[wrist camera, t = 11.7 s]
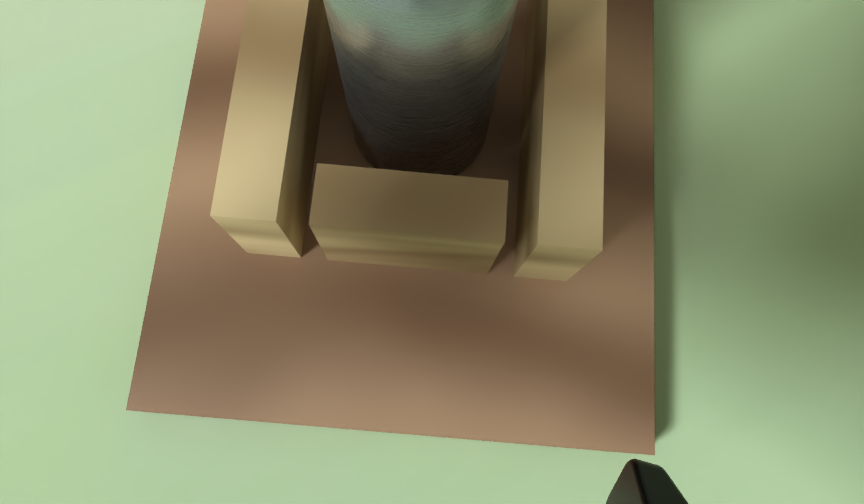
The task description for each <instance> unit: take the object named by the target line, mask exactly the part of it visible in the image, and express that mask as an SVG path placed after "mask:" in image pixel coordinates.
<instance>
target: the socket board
mask: <svg viewBox="0 0 864 504" xmlns="http://www.w3.org/2000/svg"><path fill="white" fill-rule="evenodd" d="M126 410H131V411H143V412H154V413H166V414H178V415H190V416H201V417H213V418H225V419H236V420H248V421H260V422H272V423H283V424H295V425H307V426H319V427H330V428H342V429H354V430H366V431H377V432H389V433H401V434H413V435H424V436H436V437H448V438H459V439H471V440H483V441H495V442H506V443H518V444H530V445H542V446H553V447H565V448H577V449H589V450H600V451H612V452H624V453H636V454H647V455H655V364H654V17H653V0H518V3H517V7H516V12H515V16H514V20H513V24H512V28H511V33H510V37H509V41H508V45H507V50H506V54H505V58H504V62H503V66H502V71H501V75H500V79H499V83H498V88H497V92H496V96H495V100H494V105H493V109H492V113H491V117H490V121H489V126H488V130H487V134H486V138H485V141H484V144H483V147H482V149H481V151H480V153H479V154H478V156H477V157H476V159H475V160H474V161H473V162H472V164H471V165H469V166H468V167H467V168H466V169H465V170H464V171H462V172H461V173H460V174H458V175H456V176H454V175H443V174H432V173H421V172H410V171H399V170H388V169H376V168H373V167H372V166H371V165H370V164H369V163H368V161H367V160H366V159H365V157H364V156H363V155H362V153H361V151H360V149H359V147H358V145H357V142H356V139H355V135H354V131H353V127H352V123H351V118H350V114H349V110H348V105H347V101H346V97H345V92H344V88H343V84H342V79H341V75H340V71H339V66H338V62H337V58H336V53H335V49H334V45H333V41H332V36H331V32H330V28H329V23H328V19H327V15H326V10H325V6H324V2H323V0H206V3H205V8H204V14H203V19H202V24H201V29H200V34H199V39H198V44H197V49H196V55H195V60H194V65H193V70H192V75H191V80H190V85H189V90H188V96H187V101H186V106H185V111H184V116H183V121H182V126H181V131H180V137H179V142H178V147H177V152H176V157H175V162H174V167H173V172H172V178H171V183H170V188H169V193H168V198H167V203H166V208H165V213H164V219H163V224H162V229H161V234H160V239H159V244H158V249H157V254H156V260H155V265H154V270H153V275H152V280H151V285H150V290H149V295H148V301H147V306H146V311H145V316H144V321H143V326H142V331H141V336H140V342H139V347H138V352H137V357H136V362H135V367H134V372H133V377H132V383H131V388H130V393H129V398H128V403H127V408H126Z"/></svg>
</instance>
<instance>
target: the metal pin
mask: <svg viewBox="0 0 864 504" xmlns="http://www.w3.org/2000/svg"><path fill="white" fill-rule="evenodd" d="M323 2H324V6H325V10H326V15H327V19H328V23H329V28H330V32H331V36H332V41H333V45H334V49H335V53H336V58H337V62H338V66H339V71H340V75H341V79H342V84H343V88H344V92H345V97H346V101H347V105H348V110H349V114H350V118H351V123H352V127H353V131H354V135H355V139H356V142H357V145H358V147H359V149H360V151H361V153H362V155H363V156H364V157H365V159H366V160H367V161H368V163H369V164H370V165H371V166H372V167H373V168H376V169H388V170H399V171H410V172H421V173H432V174H443V175H454V176H456V175H458V174H460V173H461V172H462V171H464V170H465V169H466V168H467V167H468V166H469V165H471V164H472V162H473V161H474V160H475V159H476V157H477V156H478V154H479V153H480V151H481V149H482V147H483V144H484V141H485V138H486V134H487V130H488V126H489V121H490V117H491V113H492V109H493V105H494V100H495V96H496V92H497V88H498V83H499V79H500V75H501V71H502V66H503V62H504V58H505V54H506V50H507V45H508V41H509V37H510V33H511V28H512V24H513V20H514V16H515V12H516V7H517V3H518V0H323Z"/></svg>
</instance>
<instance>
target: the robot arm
mask: <svg viewBox="0 0 864 504" xmlns="http://www.w3.org/2000/svg"><path fill="white" fill-rule="evenodd" d="M606 504H688V502H687V501H686V500H685V498H684V497H683V495H682V494H681V492H680V491H679V490H678V488H677V487H676V485H675V484H674V482H673V481H672V480H671V478H670V477H669V475H668V474H667V472H666V471H665V470H664V469H663V468H662V467H660V466H658V465H656V464H652V463H648V462H645V461H641V460H637V459H632V460H630V461H628V462H627V464H626V465H625V467H624V468H623V470H622V472H621V474H620V476H619V478H618V480H617V481H616V483H615V485H614V487H613V489H612V491H611V493H610V495H609V497H608V499H607V502H606Z"/></svg>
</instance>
